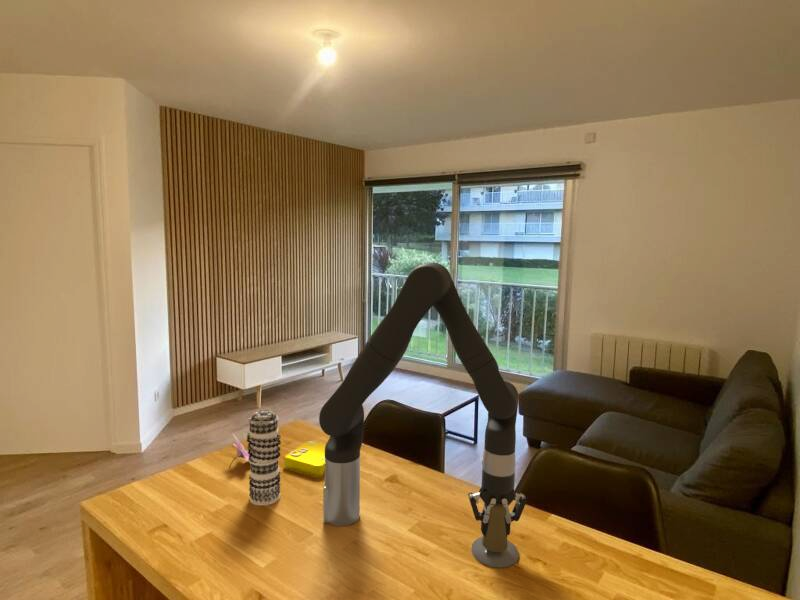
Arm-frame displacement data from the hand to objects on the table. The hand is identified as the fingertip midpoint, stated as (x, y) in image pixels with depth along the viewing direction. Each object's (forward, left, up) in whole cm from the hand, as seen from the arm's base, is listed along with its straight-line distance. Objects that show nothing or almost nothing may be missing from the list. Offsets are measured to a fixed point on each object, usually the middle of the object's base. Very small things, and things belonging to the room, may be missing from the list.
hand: (495, 535), depth 114 cm
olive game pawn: (0, 0, -3) cm, 3 cm away
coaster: (0, 0, -4) cm, 4 cm away
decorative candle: (-61, +23, -5) cm, 65 cm away
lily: (-73, +42, -5) cm, 85 cm away
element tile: (-50, +44, -5) cm, 67 cm away
